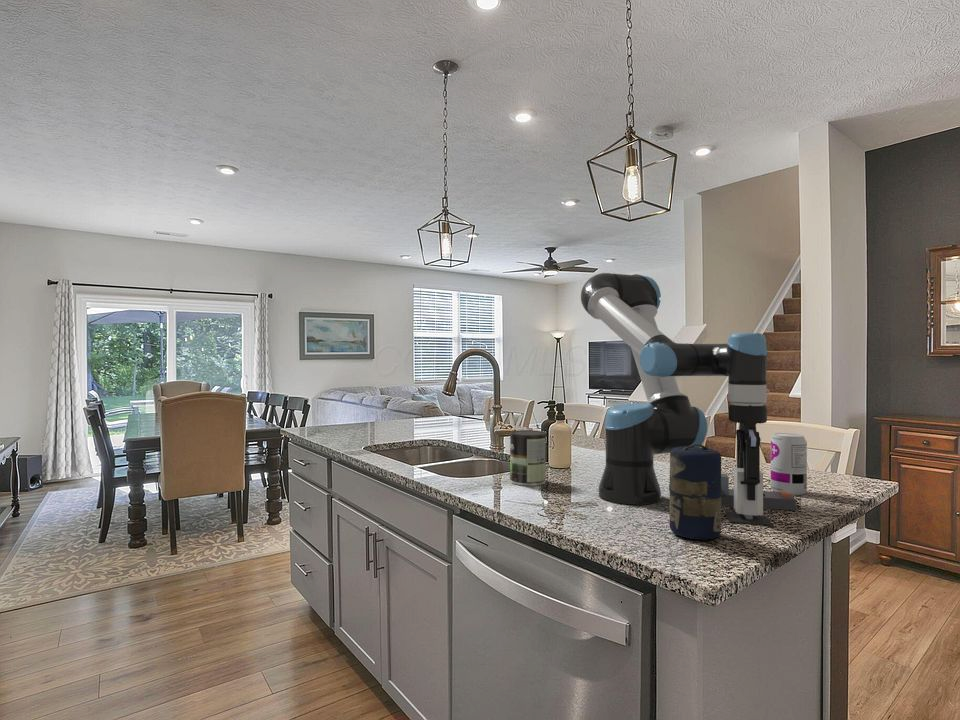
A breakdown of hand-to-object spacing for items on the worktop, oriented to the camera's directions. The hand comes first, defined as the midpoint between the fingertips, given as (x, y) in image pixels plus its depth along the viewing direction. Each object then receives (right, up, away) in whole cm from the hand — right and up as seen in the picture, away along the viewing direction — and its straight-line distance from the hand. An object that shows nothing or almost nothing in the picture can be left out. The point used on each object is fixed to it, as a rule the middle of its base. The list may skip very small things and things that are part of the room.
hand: (747, 511), depth 117 cm
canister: (-16, -2, -11) cm, 19 cm away
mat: (0, -2, 0) cm, 2 cm away
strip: (+2, -2, +12) cm, 13 cm away
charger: (0, -1, 0) cm, 1 cm away
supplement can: (+23, -2, +25) cm, 34 cm away
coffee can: (-45, -2, +36) cm, 57 cm away
